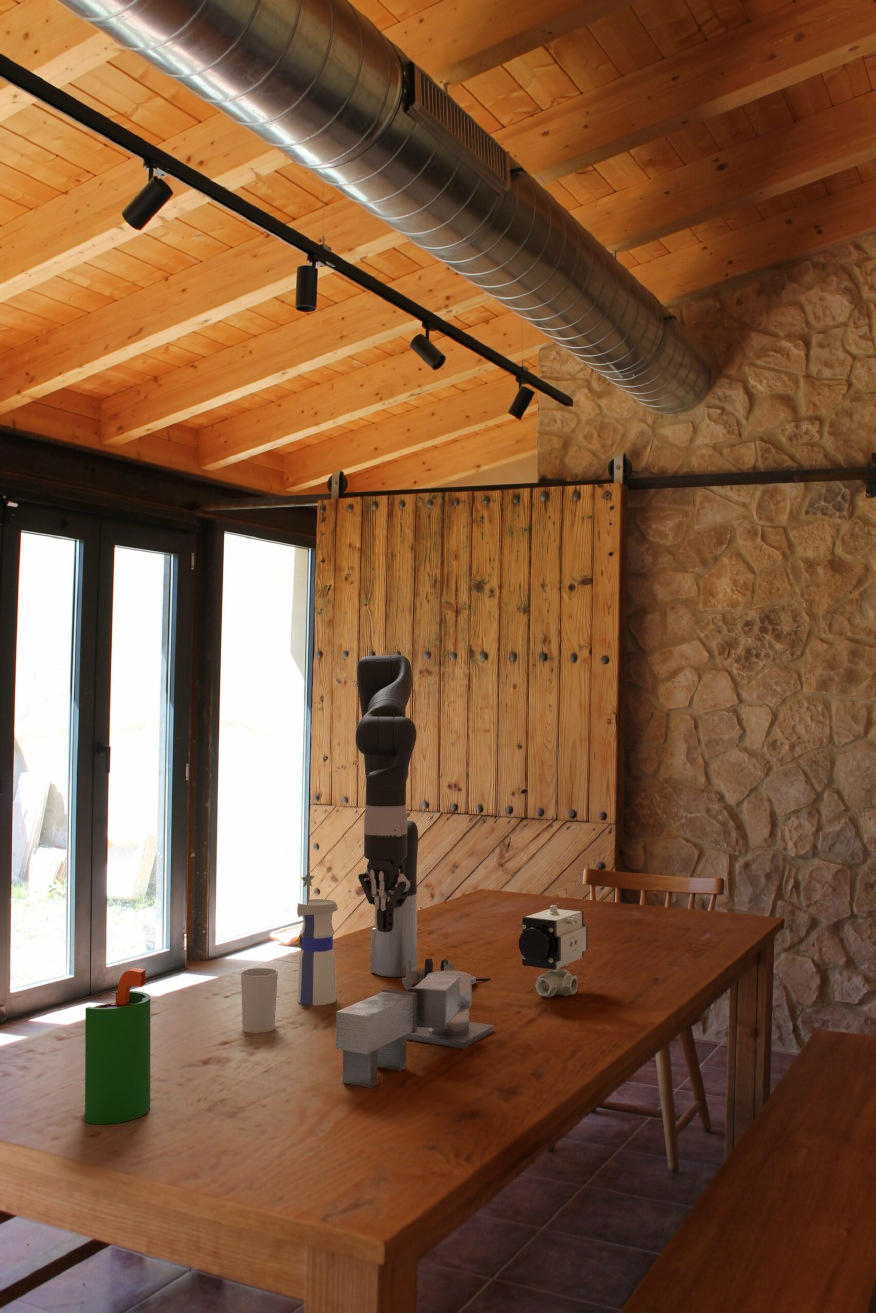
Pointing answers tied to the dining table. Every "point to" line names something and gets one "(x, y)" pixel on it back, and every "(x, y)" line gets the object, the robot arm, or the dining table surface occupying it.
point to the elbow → (441, 997)
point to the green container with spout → (118, 1054)
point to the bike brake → (419, 975)
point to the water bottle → (316, 951)
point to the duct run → (375, 1035)
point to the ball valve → (554, 947)
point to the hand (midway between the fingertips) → (385, 931)
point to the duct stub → (453, 1032)
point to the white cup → (259, 999)
